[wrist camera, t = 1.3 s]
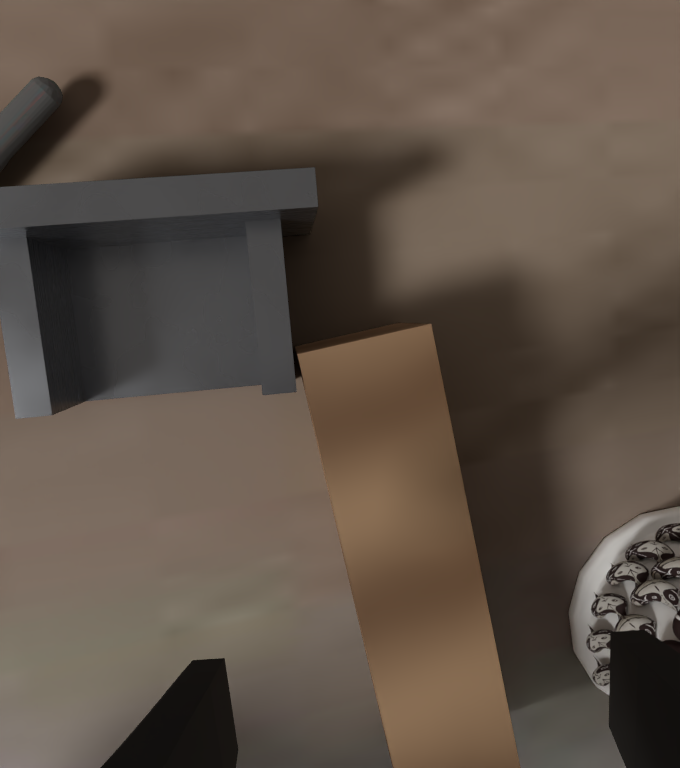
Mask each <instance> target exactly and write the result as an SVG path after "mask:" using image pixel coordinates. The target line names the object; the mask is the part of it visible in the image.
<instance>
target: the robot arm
mask: <svg viewBox="0 0 680 768" xmlns="http://www.w3.org/2000/svg"><path fill="white" fill-rule="evenodd" d="M609 727H610V730H611V732H612V735H613V737H614V739H615V742H616V744H617V747H618V749H619V752H620V754H621V756H622V759H623V761H624V763H625V766H626V768H680V653H678V652H677V651H675V650H674V649H672V648H671V647H670V646H668V645H667V644H665V643H664V642H662V641H661V640H659V639H658V638H656V637H655V636H653V635H652V634H650V633H648V632H647V631H645V630H632V631H618V632H611V633H610V693H609ZM237 754H238V745H237V739H236V732H235V725H234V719H233V712H232V705H231V699H230V692H229V685H228V679H227V672H226V665H225V659H224V658H222V659H207V660H193V661H192V662H191V663H190V664H189V665H188V666H187V667H186V669H185V670H184V671H183V672H182V673H181V674H180V676H179V677H178V678H177V679H176V681H175V682H174V683H173V684H172V685H171V687H170V688H169V689H168V690H167V692H166V693H165V694H164V695H163V696H162V698H161V699H160V700H159V701H158V702H157V704H156V705H155V706H154V707H153V708H152V710H151V711H150V712H149V713H148V714H147V716H146V717H145V718H144V719H143V720H142V721H141V723H140V724H139V725H138V726H137V727H136V728H135V730H134V731H133V732H132V733H131V734H130V735H129V737H128V738H127V739H126V740H125V741H124V742H123V743H122V745H121V746H120V747H119V748H118V749H117V750H116V751H115V753H114V754H113V755H112V756H111V757H110V758H109V759H108V760H107V761H106V762H105V763H104V765H103V766H102V767H101V768H236V761H237Z"/></svg>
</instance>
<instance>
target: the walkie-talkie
mask: <svg viewBox="0 0 680 768" xmlns="http://www.w3.org/2000/svg"><path fill="white" fill-rule="evenodd" d="M62 96H63V95H62V92H61V90H60V88H59V87H58V85H57V84H56V83H55V82H54V81H52V80H50V79H48V78H44V77H36V78H34V79H32V80H31V81H30V82H29V83H28V84H27V85H26V86H25V87H24V88H23V89H22V90H21V91H20V92H19V94H18V95H17V96H16V97H15V98H14V99H13V100H12V101H11V102H10V103H9V104H8V105H7V106H6V107H5V108H4V109H3V111H2V112H1V113H0V172H1V171H2V169H3V168H4V167H5V166H6V165H7V164H8V161H9V160H10V159H11V158H12V157H13V156H14V154H15V153H16V152H17V151H18V150H19V149H20V148H21V147H22V146H23V145H24V144H25V143H26V142H27V140H28V139H29V138H30V137H31V136H32V135H33V134H34V133H35V132H36V131H37V130H38V129H39V128H40V126H41V125H42V124H43V123H44V122H45V121H46V120H47V119H48V118H49V117H50V116H51V115H52V113H53V112H54V111H55V110H56V109H57V108H58V107H59V106H60V104H61V102H62Z"/></svg>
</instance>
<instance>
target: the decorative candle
mask: <svg viewBox="0 0 680 768" xmlns="http://www.w3.org/2000/svg"><path fill="white" fill-rule="evenodd" d="M568 614H569V622H570V630H571V637H572V645H573V651H574V653H575V654H576V656H577V658H578V659H579V661H580V662H581V664H582V666H583V667H584V669H585V671H586V672H587V674H588V675H589V677H590V679H591V680H592V682H593V683H594V684H595V686H596V687H597V688H599V689H600V690H602V691H603V692H605V693H606V694H608V695H609V693H610V633H611V632H618V631H632V630H645V631H647V632H648V633H650V634H652V635H653V636H655V637H656V638H658V639H659V640H661V641H662V642H664V643H665V644H667V645H668V646H670V647H671V648H672V649H674V650H675V651H677V652H678V653H680V506H678V507H673V508H668V509H663V510H659V511H654V512H649V513H644V514H640V515H638V516H636V517H635V518H633V519H632V520H630V521H629V522H627V523H626V524H624V525H623V526H621V527H620V528H618V529H617V530H615V531H613V532H612V533H610V534H609V535H607V536H606V537H604V538H603V540H602V541H601V542H600V544H599V545H598V547H597V548H596V549H595V551H594V552H593V553H592V555H591V556H590V558H589V559H588V560H587V562H586V563H585V564H584V566H583V567H582V569H581V570H580V571H579V573H578V577H577V581H576V585H575V588H574V592H573V596H572V600H571V603H570V607H569V611H568Z"/></svg>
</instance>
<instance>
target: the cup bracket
mask: <svg viewBox="0 0 680 768" xmlns="http://www.w3.org/2000/svg"><path fill="white" fill-rule="evenodd" d="M317 209H318V198H317V186H316V175H315V167H312V168H296V169H280V170H264V171H248V172H232V173H216V174H200V175H184V176H168V177H152V178H136V179H121V180H105V181H89V182H73V183H57V184H41V185H25V186H9V187H0V318H1V325H2V332H3V338H4V345H5V351H6V358H7V364H8V371H9V378H10V384H11V391H12V397H13V404H14V411H15V417H16V419H17V418H28V417H38V416H49V415H54V414H56V413H59V412H61V411H63V410H66V409H68V408H71V407H73V406H75V405H78V404H80V403H83V402H85V401H92V400H103V399H114V398H124V397H135V396H146V395H156V394H167V393H178V392H188V391H199V390H210V389H220V388H231V387H242V386H252V385H262V394H263V395H269V394H279V393H290V392H297V391H296V381H295V370H294V359H293V349H292V338H291V327H290V317H289V306H288V295H287V285H286V274H285V263H284V253H283V242H282V236H293V235H306V234H310V232H311V229H312V225H313V222H314V219H315V216H316V212H317Z"/></svg>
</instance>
